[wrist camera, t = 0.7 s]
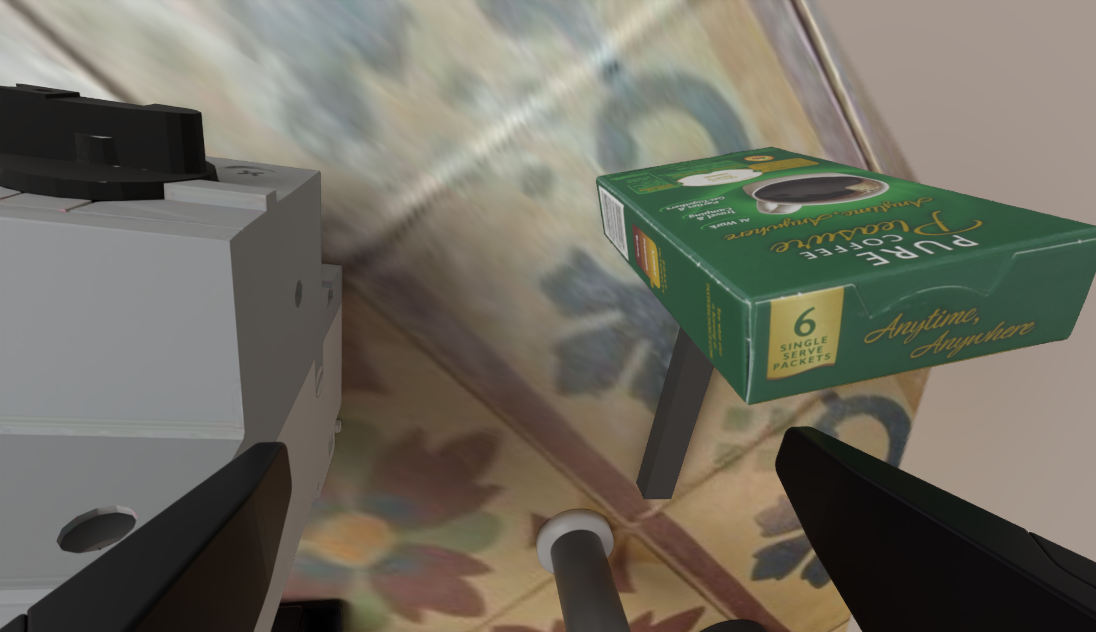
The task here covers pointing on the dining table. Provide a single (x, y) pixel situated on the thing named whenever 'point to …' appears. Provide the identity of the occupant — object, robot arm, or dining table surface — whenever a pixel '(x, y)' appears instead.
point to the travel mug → (735, 627)
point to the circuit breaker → (149, 329)
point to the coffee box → (840, 268)
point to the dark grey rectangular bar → (674, 419)
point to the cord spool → (582, 570)
